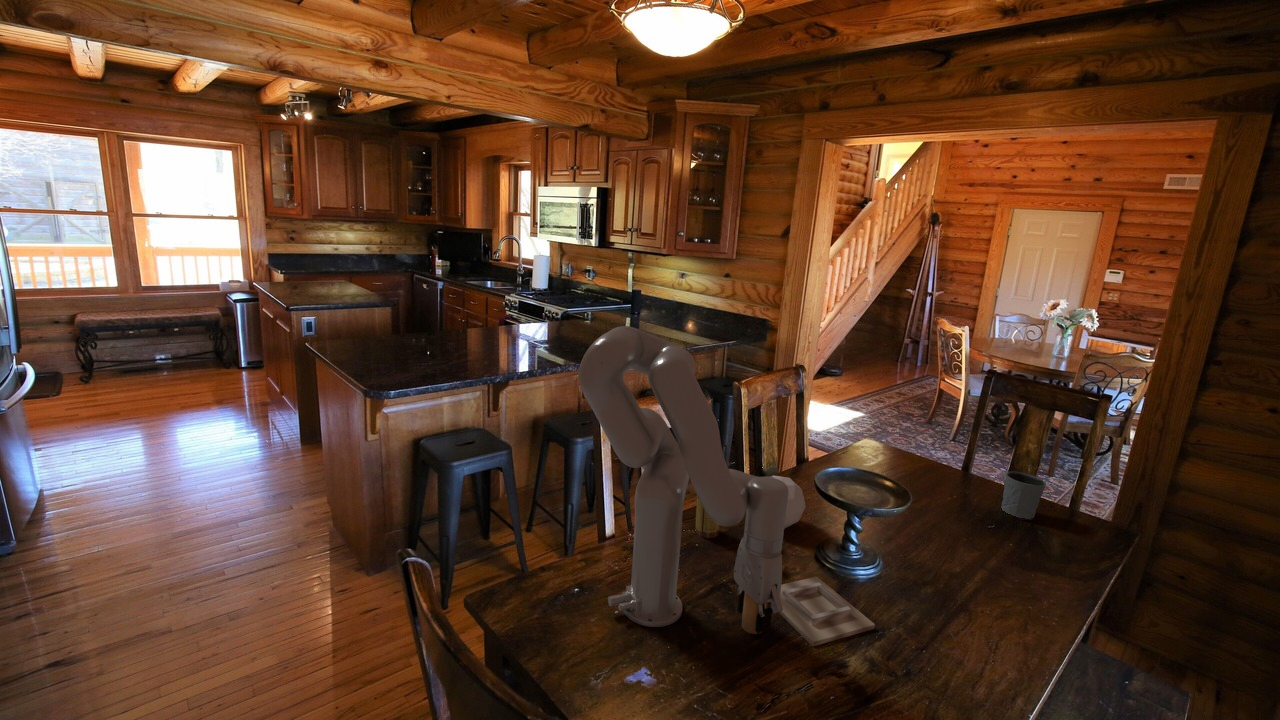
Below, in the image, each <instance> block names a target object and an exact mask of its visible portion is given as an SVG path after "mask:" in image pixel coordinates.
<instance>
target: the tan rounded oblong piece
mask: <svg viewBox="0 0 1280 720" xmlns="http://www.w3.org/2000/svg"><path fill="white" fill-rule="evenodd" d="M767 606H768V603H765V604H764V607H765V609H766V608H767ZM758 613H759V604H757V603H756V602H755V601H754V600H753V599H752V598H751V597H750V596H749V595H748V594H747V593H746V592H745V594H744V605H743V613H742V615H741V616H742V618H741V628H742V629H743V630H744V631H745V632H746V633H748V634H752V635H759V634H762V633H763V632H760V633H757V632H756V631H755V627H756V618H757V614H758Z"/></svg>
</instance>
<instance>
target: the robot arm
mask: <svg viewBox="0 0 1280 720" xmlns="http://www.w3.org/2000/svg"><path fill="white" fill-rule="evenodd" d="M696 366H697V365H696V361H695V358H694V357H693V354H691V352H689V351H688V350H687V349H685V348H683V347H681V346H679V345H677V344H675V343H673V342H670V341H667V340H665V339H663V338H661V337H659V336H656V335H654V334H650V333H648V332H646V331H643V330H642V329H639V328H636V327H634V326H628V325H622V326H621V325H620V326H617V327H614V328H612V329H611V330H609V331H606V332H605V333H603V334H602V335H601V336H599V337H598V338H596V339H595V341H593V343H592V344H590V346H589V347H588V349H587V350H586V352H585V353H584V355H583V357H582V360H581V361H580V365H579V369H578V381H579V385H580V389H581V391H582V394H583V396H584V397H585V400H586V402H587V403H588V405H589V406H590V408H591V410H592V411H593V413H594V415H595V417H596V419H597V421H598V424H599V425H600V427H601V428H602V430H603V432H604V435H606V438H607V440H608V441H609V444H611V445H610V446H611V447H612V449H613V451H614V453H615V454H616V456H617V458H618V459H619V460H620V462H621V463H623V464H624V465H626V466H628V467H629V468H633V469H639V468H642V470H643V471H642V473H641V475H640V477H639V480H638V483H637V485H636V488H635V493H634V532H633V533H634V534H633V535H634V536H633V548H632V550H633V551H632V554H633V555H632V566H631V580H630V581H631V582H630V584H628V585H626V586H625V591H622V593H620V594H615V595H614V594H613V595H609V596H608V597H607V603H608V606H609V607H613V606H618V611H619V612H623V613H624V615H625V616H626V617H627V618H628V619H629V620H630V621H632V622H634V623H636V624H637V625H640V626H644V627H650V628H661V627H666V626H670V625H671V624H674V623H675V622H677V621H678V620H679V619H680V618H681V616H682V613H683V602H682V601H681V598H680V597H679V596H678V595H677V589H678V588H677V587H678V576H679V566H680V565H679V563H680V554H681V553H680V552H681V543H682V542H681V540H682V529H683V528H682V527H683V526H682V525H683V511H684V510H683V509H684V503H685V497H686V494H687V490H688V485H689V481H690V482H691V485H692V487H693V489H694V492H695V494H696V497H697V496H698V498H699V500H700V502H701V504H702V506H703V508H704V509H705V511H706V513H707V514H708V516H709V517H710V518H711V519H712V520H713V521H714V522H716V523H717V524H719V525H720V526H722V527H732V526H735V525H737V524H739V523H740V522H742V520H744V517H745V520H744V521H745V522H744V531H743V537H742V538H741V539H740V543H739V546H738V549H737V553H736V557H735V563H734V567H733V579H734V581H735V583H736V584H737V585H738V588H737V593H738V594H739V595H738V602H737V603H738V604H737V611H736V612H738V614H743V605H744V594H745V592H746V593H747V594H748V595H749V596H750V597H751V598H752V599H753V600H754V601H755V602H756V603H757V604H759V613H758V614H757V618H756V627H755V631H756V632H757V633H760V632H762V633H763V632H768V631H770V629H771V623H772V618H773V617H772V616H773V615H775V614H777V613H779V612H781V611H783V608H782V605H781V601H780V598H779V597H780V592H781V585H782V579H783V555H782V549H783V541H784V534H785V533H784V531H785V529H784V527H785V519H786V511H787V503H788V494H789V491H788V487H787V485H786V484H785V483H784V482H782V481H781V480H779V479H776V478H772V477H771V476H770V477H768V476H767V477H766V476H757V475H753V474H749V473H746V472H745V471H744V472H743V471H741V470H737V469H733V468H729V466H728V465H727V462H726V458H725V456H724V453H723V448H722V443H721V435H720V429H719V423H718V421H717V418H716V416H715V414H714V411H712V408H711V406H710V405H709V402H708V400H707V398H706V396H705V394H704V392H703V390H702V388H701V386H700V384H699V381H698V380H697V378H696V376H695V373H696V370H697V369H696V368H697V367H696ZM630 370H633V371H636V372H638V373H640V374H643V375H645V376H647V377H648V378H647V379H648V383H649V386H650V387H651V390H652V391H653V392H652V393H653V394H654V396H655V399H656V400H657V402H658V404H659V406H660V407H661V410H662V412H663V414H664V416H665V418H666V420H667V421H668V423H666V421H665V419H664V418H663V417H662V416H661V415H660V414H659V413H658V412H657V411H655V410H653V409H651V408H648V407H641V406H640V405H639V403H638V401H637V399H636V397H635V395H634V393H633V392H632V391H631V390H630V388H629V387H628V385H626V383H625V381H624V376H625V374H627V373H628V371H630ZM668 424H669V426H668ZM670 428H671V429H670ZM671 430H672V431H671ZM673 434H674V435H673ZM674 436H675V437H674ZM765 603H767V606H768V607H766V609H765V607H764V604H765ZM760 634H761V633H760Z"/></svg>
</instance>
